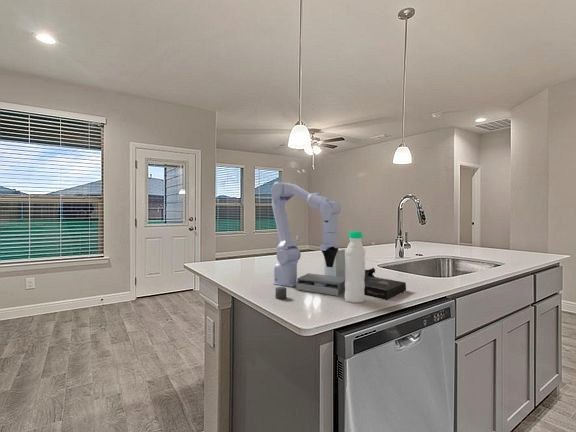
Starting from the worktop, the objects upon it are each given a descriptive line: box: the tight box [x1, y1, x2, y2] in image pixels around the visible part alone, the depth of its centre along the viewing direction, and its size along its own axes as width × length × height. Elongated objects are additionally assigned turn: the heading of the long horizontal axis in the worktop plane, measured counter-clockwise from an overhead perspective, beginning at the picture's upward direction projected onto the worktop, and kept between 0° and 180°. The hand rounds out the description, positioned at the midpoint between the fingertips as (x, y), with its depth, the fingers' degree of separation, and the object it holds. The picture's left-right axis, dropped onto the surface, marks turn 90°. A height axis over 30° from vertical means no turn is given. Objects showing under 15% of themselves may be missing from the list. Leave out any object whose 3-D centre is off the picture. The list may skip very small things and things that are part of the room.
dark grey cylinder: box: [275, 286, 287, 300], centre depth 118 cm, size 4×4×4 cm
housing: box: [297, 272, 346, 296], centre depth 130 cm, size 18×11×4 cm, turn 62°
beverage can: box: [365, 267, 376, 277], centre depth 144 cm, size 9×8×12 cm
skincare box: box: [323, 248, 346, 278], centre depth 142 cm, size 8×6×15 cm
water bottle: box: [344, 230, 366, 304], centre depth 114 cm, size 7×7×25 cm
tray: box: [295, 281, 339, 297], centre depth 129 cm, size 18×11×2 cm, turn 62°
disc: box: [314, 282, 328, 287], centre depth 128 cm, size 6×6×2 cm
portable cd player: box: [364, 276, 407, 301], centre depth 127 cm, size 16×17×4 cm
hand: (329, 266), depth 124 cm, fingers closed
